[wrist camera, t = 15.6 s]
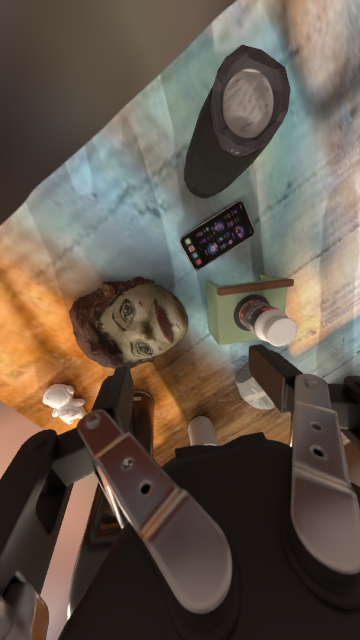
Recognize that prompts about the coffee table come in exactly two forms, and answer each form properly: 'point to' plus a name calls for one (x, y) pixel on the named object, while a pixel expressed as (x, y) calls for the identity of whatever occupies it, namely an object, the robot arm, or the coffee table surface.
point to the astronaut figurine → (64, 402)
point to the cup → (202, 432)
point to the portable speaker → (236, 120)
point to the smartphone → (217, 235)
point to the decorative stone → (252, 390)
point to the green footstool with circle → (230, 300)
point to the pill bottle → (268, 322)
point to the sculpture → (128, 322)
